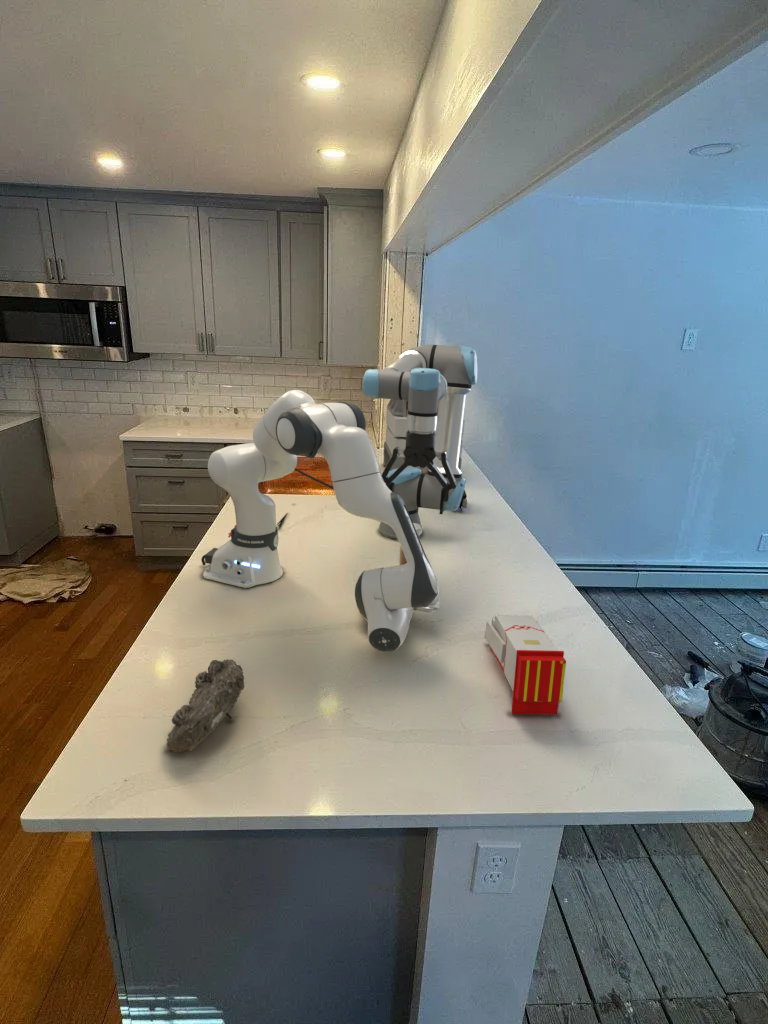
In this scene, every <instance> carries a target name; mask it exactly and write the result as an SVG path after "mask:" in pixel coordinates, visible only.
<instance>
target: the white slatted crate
mask: <svg viewBox="0 0 768 1024" xmlns="http://www.w3.org/2000/svg"><path fill="white" fill-rule="evenodd" d="M438 406H439V401H438ZM385 414H386V415H385V423H386V428H385V438H384V442H383V466H384V467H386V466H387V464H388V463H389V461H390V459H391V457H392V454H393V449H394V448H395V447H399V448H400V449H405V447H406V432H407V431H409V430H408V429H407V414H408V401H406V400H396V399H389V402H388V404H387V405H386V413H385ZM437 416H438V410H437ZM464 429H465V419H464V418H463V426H462V435H461V444H460V453H459V462H458V468H459V469H460V471H461V472H462V461H463V460H462V453H463V442H464V441H463V440H462V439H463V438H464V431H465V430H464ZM434 432H435V434H436V431H434ZM406 460H407V459H406V458H405V456H404V454H401V455H400V456H399V457H397V459H396V461H395V462H394V464H393V466H392V467H391V469H390V471H391V470H393V469H396V468H399V467H400V466H401V465H402V464H403V463H404V462H405V461H406ZM407 467H412V466H411V465H410V464H409V465H408V466H407ZM390 471H389V472H390Z"/></svg>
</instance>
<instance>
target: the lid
mask: <svg viewBox="0 0 768 1024" xmlns="http://www.w3.org/2000/svg"><path fill="white" fill-rule="evenodd" d="M413 524H414V527H415V529H416V532H417V534H418V536H419V535H420V534H421V526H420V525H419V524H416V523H413Z"/></svg>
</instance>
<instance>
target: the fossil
mask: <svg viewBox="0 0 768 1024" xmlns="http://www.w3.org/2000/svg"><path fill="white" fill-rule="evenodd" d="M243 670H244V669H243V667H242V665H240V664H237V662H236V661H235V660H234V659H232V658H231V659H227V658H226V659H224V660H223V661H222V660H217V659H212V660H211V661H210V663H209V665H208V666H207V671H201V672H199V673H198V674H197V675H196V676H195V680H194V684H195V685H194V687H195V689H194V690H193V693H192V694H191V697H190V698H189V700H188V704H184V705H182V706H181V707H180V709H177V710H176V711H175V713H174V715H173V716H172V718H171V723H172V724H173V727H172V730H171V731H170V732H168V734H167V738H166V741H167V742H166V745H167V749H168V750H169V751H173V752H174V753H176V754H178V753H182V752H188V751H189V752H192V751H193V750H195V748H196V747H197V746H199V744H200V743H201V742H203V741H204V740H205V739H206V738H207V737H208V736H209V735H210V734H211V733H212V732H214V730H215V729H217V727H218V726H219V724H220V722H221V721H222V720H223V719H224V718H225V716H226V717H227V719H229V720H233V717H232V715H230V714H229V710H230V709H231V708H234V706H235V704H236V703H237V702H238V699H239V697H240V695H241V693H242V691H243V690H245V689H244V688H245V675H244V671H243Z"/></svg>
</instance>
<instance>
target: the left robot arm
mask: <svg viewBox="0 0 768 1024" xmlns="http://www.w3.org/2000/svg"><path fill="white" fill-rule="evenodd" d="M366 423H367V422H366V418H365V415H364V412H363V411H362V409H361V408H360V407H359V405H357V404H355V403H353V402H348V401H341V400H340V401H333V402H332V401H331V402H318V403H316V401H315V399H313V397H312V396H311V395H310V394H308V393H307V392H305V391H303V390H300V389H291V390H288V391H286V392H285V393H283V394H282V395H281V396H279V397H278V398H277V399H276V400H275V401H274V402H272V403H271V405H270V406H269V407H268V409H267V410H266V411H265V412H264V414H263V415H262V416H261V417H260V419H259V420H258V422H257V423H256V424H255V426H254V427H253V431H252V440H253V441H252V442H248V443H240V444H234V445H228V446H225V447H223V448H219V449H217V450H214V451H213V452H211V454H210V455H209V458H208V461H207V472H208V475H209V477H210V479H211V480H212V481H213V483H214V484H215V485H217V486H218V487H220V488H221V489H223V490H224V491H225V492H226V493H227V494H228V495H229V497H230V498H231V501H232V503H233V506H234V513H235V524H234V527H233V528H232V529H230V531H229V532H228V534H227V535H228V536H227V537H228V538H231V539H230V540H228V541H227V542H224V543H223V544H222V545H221V546H220V547H213V548H212V549H211V550H209V551H208V552H207V553H205V554H203V555H202V557H201V558H200V559H201V564H202V566H206V564H208V565H207V566H206V567H205V569H203V574H202V575H203V579H205V580H210V581H215V582H219V583H223V584H227V585H232V586H235V587H239V588H243V589H244V588H245V589H248V588H249V589H250V588H252V587H255V586H259V585H264V584H269V583H272V582H274V581H276V580H279V579H280V578H281V577H282V576H283V574H284V571H283V567H282V564H281V561H280V555H279V549H278V548H279V527H278V526H277V505H276V503H275V501H274V500H273V498H272V497H271V496H269V495H267V494H265V493H262V492H260V489H259V483H262V482H269V481H274V480H279V479H281V478H283V477H285V476H287V475H290V474H292V473H294V471H296V470H295V468H296V469H297V465H298V457H299V456H300V457H304V458H305V457H306V458H310V459H314V458H315V457H316V455H321V456H322V457H323V458H324V459H325V460H326V462H327V465H328V469H329V475H330V480H331V483H332V484H331V485H332V486H333V489H332V490H333V493H334V495H335V496H334V497H335V499H336V501H337V503H338V505H339V506H340V507H341V508H342V509H343V510H344V511H346V512H347V513H348V514H350V515H352V516H355V517H359V518H363V519H367V520H374V521H378V522H380V523H381V522H383V523H386V524H387V525H389V526H390V527H391V528H392V529H393V530H394V531H395V533H396V535H397V538H398V540H397V541H398V543H399V546H400V545H401V548H402V550H403V553H404V555H405V558H406V560H407V563H406V564H403V565H399V564H397V565H391V566H383V567H377V568H371V569H365V570H363V571H362V572H361V573H360V575H359V577H357V580H356V582H355V585H354V600H355V604H356V608H357V609H358V611H359V613H360V614H361V615H362V617H363V618H364V619H365V620H366V621H367V640H368V643H369V645H371V647H372V648H374V649H375V650H377V651H379V652H384V653H385V652H386V653H387V652H389V653H390V652H393V651H396V650H398V649H399V648H400V647H401V646H402V645H403V643H404V641H405V640H406V637H407V635H408V632H409V628H410V622H411V620H412V617H413V614H414V613H413V612H414V611H415V612H422V613H433V612H435V611H438V610H439V609H440V597H441V590H440V589H439V582H438V578H437V575H436V573H435V571H434V570H433V567H432V565H431V563H430V561H429V559H428V556H427V554H426V552H425V550H424V547H423V544H422V542H421V539H420V537H418V534H417V532H416V529H415V527H414V524H413V522H412V519H411V517H410V515H409V512H408V510H407V508H406V505H405V503H404V502H403V500H402V498H401V497H400V496H399V494H397V493H394V492H392V491H391V490H390V489H389V488H388V487H387V486H386V483H385V482H384V480H383V478H382V471H381V467H380V464H379V459H378V456H377V453H376V451H375V450H376V449H375V447H374V444H373V442H372V440H371V438H370V436H369V433H368V432H367V431H366V428H367V424H366Z"/></svg>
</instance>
